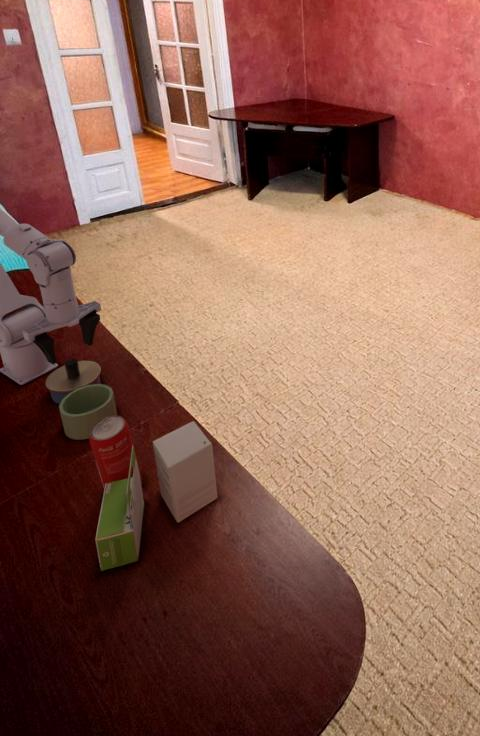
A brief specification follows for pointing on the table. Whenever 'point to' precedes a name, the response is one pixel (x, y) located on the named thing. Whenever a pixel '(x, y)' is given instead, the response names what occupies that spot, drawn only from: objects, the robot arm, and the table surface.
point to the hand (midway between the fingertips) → (70, 352)
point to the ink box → (121, 520)
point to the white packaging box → (185, 470)
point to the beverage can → (112, 449)
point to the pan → (60, 396)
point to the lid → (73, 376)
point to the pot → (86, 409)
